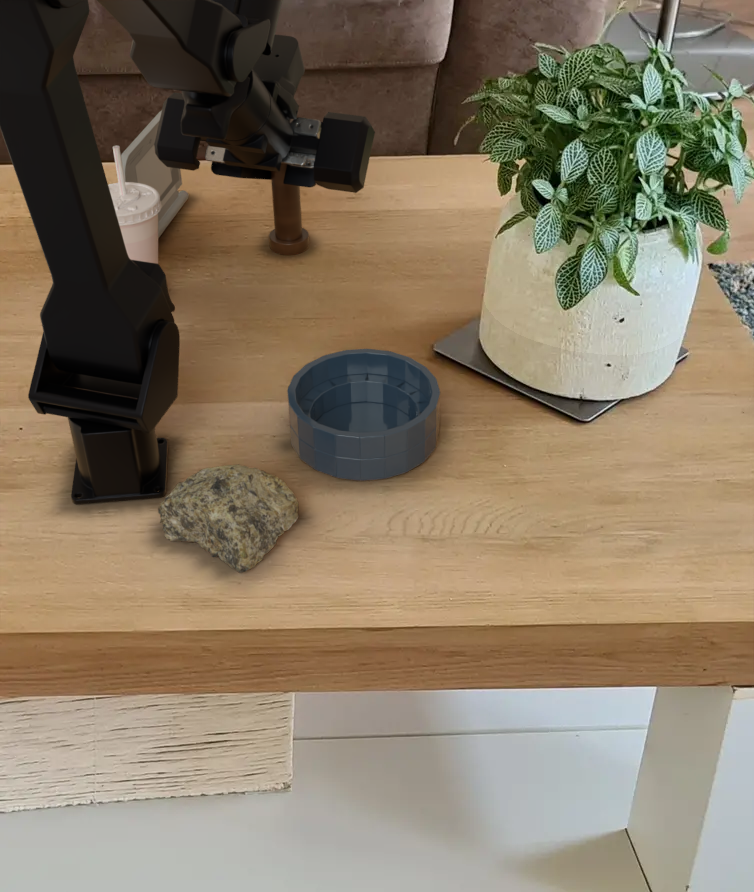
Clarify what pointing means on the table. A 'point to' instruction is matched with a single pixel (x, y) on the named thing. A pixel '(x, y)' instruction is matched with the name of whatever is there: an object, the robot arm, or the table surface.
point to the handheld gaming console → (154, 173)
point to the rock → (230, 513)
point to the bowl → (364, 414)
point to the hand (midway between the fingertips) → (290, 176)
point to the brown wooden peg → (287, 217)
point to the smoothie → (136, 214)
